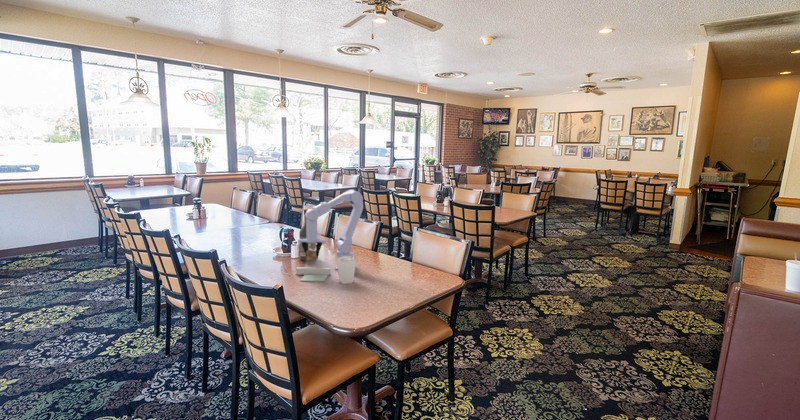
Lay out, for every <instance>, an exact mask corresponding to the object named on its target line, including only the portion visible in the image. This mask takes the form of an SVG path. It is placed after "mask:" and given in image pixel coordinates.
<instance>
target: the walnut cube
mask: <svg viewBox="0 0 800 420" xmlns="http://www.w3.org/2000/svg"><path fill="white" fill-rule="evenodd" d="M306 256H307V260H310V261H317V260H318V258H319V256H318V257H316V249H308V250H307V251H306Z"/></svg>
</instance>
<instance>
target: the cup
mask: <svg viewBox="0 0 800 420" xmlns="http://www.w3.org/2000/svg"><path fill="white" fill-rule="evenodd" d="M336 266H338V269H337V271H338V278H339V283H340V284H343V285H348V284H352V283H353V282H354V277H355V273H356V258H355V256H354V257H350V256H344V257H339V258H338V262H337V261H336Z"/></svg>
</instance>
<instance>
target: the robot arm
mask: <svg viewBox="0 0 800 420" xmlns="http://www.w3.org/2000/svg"><path fill="white" fill-rule="evenodd" d="M363 200H364V197H363V195H362V193H361V192H360V191H357V190H355V189H348V190H347V191H344V192H342V193H341V194H340V195H338V196H336V197H335V198H333V199H331V200H329V201H327V202H326V201H321V202H320V203H319V204H318V205H316V206H312V208H308V209H309V210H307V211H306V213H305V215H304V218H305V217H306V218H307V219H306V222H307V223H306V233H307V239H300V238H299V239H297V243H298V244H300V243H302V247H303V249H304V251H305V254H306V251H307V250H308V243H316V257H318V258H319V255H320V251H321V248H322V245H323V244H324V245H325V244H326V243H327V239H323V238H318V219H319V217H321V216H324V215H325V214H327V213H329V212H330V211H331V209H332V208H333V207H335V206H337V205H339V204H341V203H343V202H349V203H350V204H351V206H352V210H351V213H350V215H349V217H348V220H347V223H346V226H345V227H344V231H343V233H342V234H341V235H340V236H339V238H338V240H336V242H335V247H336V248H337V251H336V263H337V262H338V258H339V257H344V256H350V257H354V258H355V252H352V251H351V250H352V243H353V239H352V237H353V235H354V232H355V231H356V228H357V225H358V223H359V220H360V218H361V216H362V213H363V210H364V202H363ZM306 257H307V256H306ZM335 270H338V266H337V265H336V267H335Z"/></svg>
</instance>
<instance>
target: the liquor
mask: <svg viewBox="0 0 800 420" xmlns="http://www.w3.org/2000/svg"><path fill="white" fill-rule="evenodd" d="M309 209H310V208H307V209H303V216H304V223H303V226H302V227H301V229H300V230H299V233H298V234H299V239H307V233H306V223H307V222H306V219H307V218H306V217H305V213H306V211H307V210H309ZM316 244H317V243H308V249H316ZM299 259H300V260H301V261H302V260H303V262H306V261H311V260H307V257H306V254H305V251H304V249H303V247H302V243H299Z"/></svg>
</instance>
